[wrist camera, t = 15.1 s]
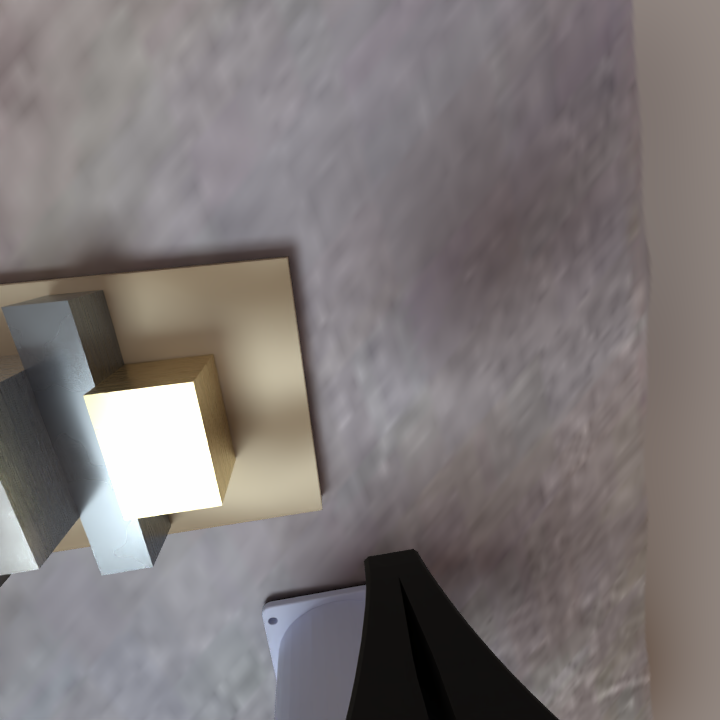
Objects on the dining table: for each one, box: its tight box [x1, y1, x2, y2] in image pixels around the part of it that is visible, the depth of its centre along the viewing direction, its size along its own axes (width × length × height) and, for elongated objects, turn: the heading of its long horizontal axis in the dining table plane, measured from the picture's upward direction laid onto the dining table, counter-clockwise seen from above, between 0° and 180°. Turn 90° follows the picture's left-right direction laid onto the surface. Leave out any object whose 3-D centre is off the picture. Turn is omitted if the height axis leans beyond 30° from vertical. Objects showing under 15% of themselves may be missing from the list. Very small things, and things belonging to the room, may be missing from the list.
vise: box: [0, 257, 322, 587], centre depth 16 cm, size 12×17×4 cm
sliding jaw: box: [1, 290, 236, 575], centre depth 16 cm, size 11×6×3 cm, turn 5°
